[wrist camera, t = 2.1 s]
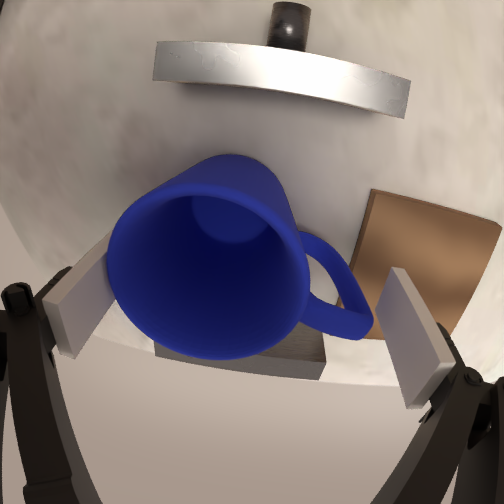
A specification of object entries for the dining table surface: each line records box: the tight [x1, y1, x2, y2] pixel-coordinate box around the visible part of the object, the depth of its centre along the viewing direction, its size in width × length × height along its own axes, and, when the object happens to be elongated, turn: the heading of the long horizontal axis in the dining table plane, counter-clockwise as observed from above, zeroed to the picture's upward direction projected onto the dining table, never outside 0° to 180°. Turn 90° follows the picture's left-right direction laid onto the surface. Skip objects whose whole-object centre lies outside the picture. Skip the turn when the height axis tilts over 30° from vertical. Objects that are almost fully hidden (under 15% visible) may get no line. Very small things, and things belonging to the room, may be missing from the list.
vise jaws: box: [153, 2, 411, 380], centre depth 18 cm, size 23×12×5 cm, turn 172°
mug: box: [106, 154, 374, 360], centre depth 16 cm, size 8×12×10 cm
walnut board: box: [329, 189, 502, 340], centre depth 22 cm, size 12×12×1 cm
